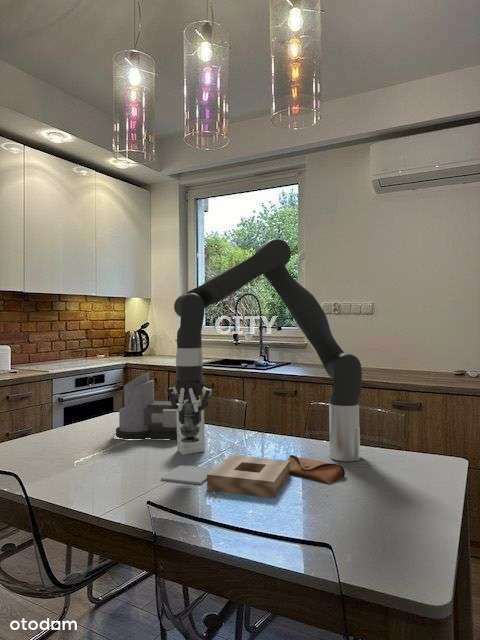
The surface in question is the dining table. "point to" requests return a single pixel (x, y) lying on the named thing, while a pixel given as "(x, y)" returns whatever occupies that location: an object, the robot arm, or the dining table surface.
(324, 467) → the sunglasses case
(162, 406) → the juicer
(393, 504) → the dining table surface
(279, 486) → the pocket holder
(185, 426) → the grey stone ornament
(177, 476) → the grey mat
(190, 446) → the skincare box
